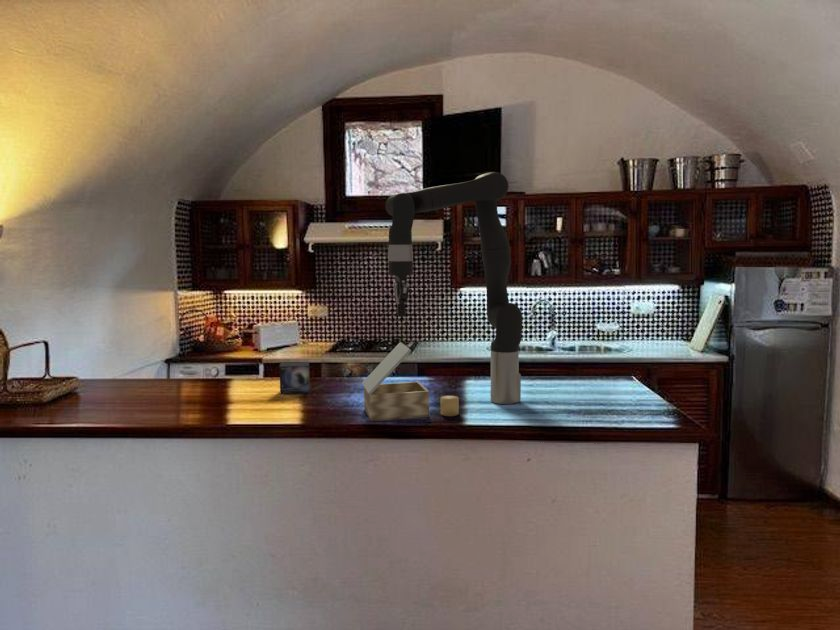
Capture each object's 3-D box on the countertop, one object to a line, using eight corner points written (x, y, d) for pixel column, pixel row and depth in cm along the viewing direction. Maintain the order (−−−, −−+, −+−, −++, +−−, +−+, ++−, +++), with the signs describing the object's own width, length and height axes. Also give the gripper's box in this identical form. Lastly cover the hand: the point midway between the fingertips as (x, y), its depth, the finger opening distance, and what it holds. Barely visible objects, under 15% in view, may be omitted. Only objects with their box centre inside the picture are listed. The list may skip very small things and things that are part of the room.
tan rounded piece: (455, 410, 188) (455, 395, 187) (460, 415, 183) (460, 399, 182) (438, 412, 187) (438, 396, 186) (443, 416, 181) (443, 400, 181)
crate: (418, 405, 195) (418, 381, 194) (429, 417, 181) (429, 391, 180) (364, 409, 191) (363, 384, 190) (370, 421, 177) (370, 395, 176)
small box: (279, 395, 211) (278, 366, 210) (280, 391, 217) (279, 362, 216) (310, 393, 213) (309, 364, 212) (309, 389, 219) (309, 361, 218)
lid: (402, 343, 191) (400, 341, 191) (411, 350, 177) (409, 348, 177) (363, 384, 190) (361, 382, 190) (370, 395, 176) (368, 393, 176)
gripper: (417, 260, 176) (418, 318, 177) (408, 259, 188) (408, 313, 190) (392, 260, 174) (393, 319, 176) (384, 259, 187) (385, 314, 189)
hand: (401, 316), depth 183 cm, fingers closed
